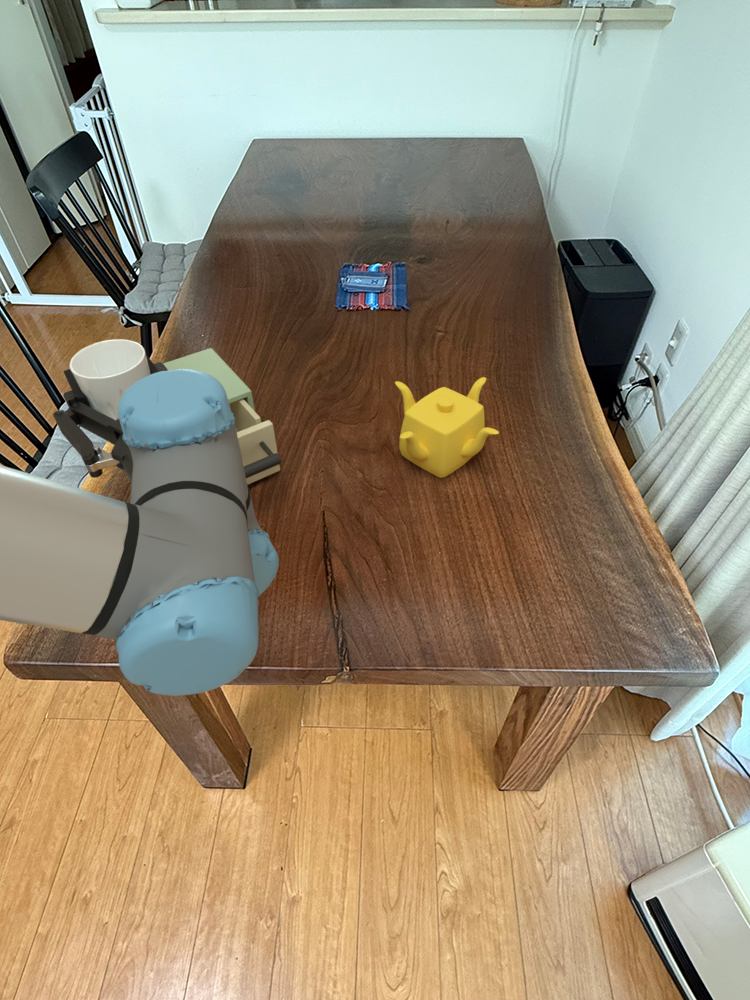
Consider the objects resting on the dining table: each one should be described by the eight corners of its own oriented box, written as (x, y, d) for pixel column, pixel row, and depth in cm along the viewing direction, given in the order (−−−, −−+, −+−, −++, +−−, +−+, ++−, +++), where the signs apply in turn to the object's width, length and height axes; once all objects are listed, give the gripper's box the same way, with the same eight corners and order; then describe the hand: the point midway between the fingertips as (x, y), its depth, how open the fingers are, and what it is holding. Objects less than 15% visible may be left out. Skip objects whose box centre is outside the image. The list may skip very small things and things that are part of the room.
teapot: (398, 484, 88) (400, 432, 82) (391, 425, 98) (392, 375, 92) (495, 480, 89) (505, 428, 82) (479, 421, 99) (486, 371, 92)
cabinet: (261, 446, 95) (251, 390, 87) (186, 477, 90) (168, 421, 82) (223, 401, 103) (211, 347, 96) (153, 427, 98) (134, 372, 91)
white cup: (86, 441, 71) (53, 368, 64) (129, 404, 76) (103, 333, 69) (140, 457, 69) (112, 384, 61) (181, 418, 74) (159, 346, 67)
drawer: (296, 489, 87) (290, 442, 80) (224, 522, 82) (211, 475, 76) (241, 424, 97) (232, 378, 91) (174, 450, 93) (159, 404, 87)
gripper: (80, 548, 56) (29, 423, 70) (275, 465, 64) (195, 368, 77) (49, 491, 51) (-1, 368, 64) (265, 409, 59) (181, 315, 72)
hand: (106, 368), depth 71 cm, fingers closed on white cup, 8 cm apart
